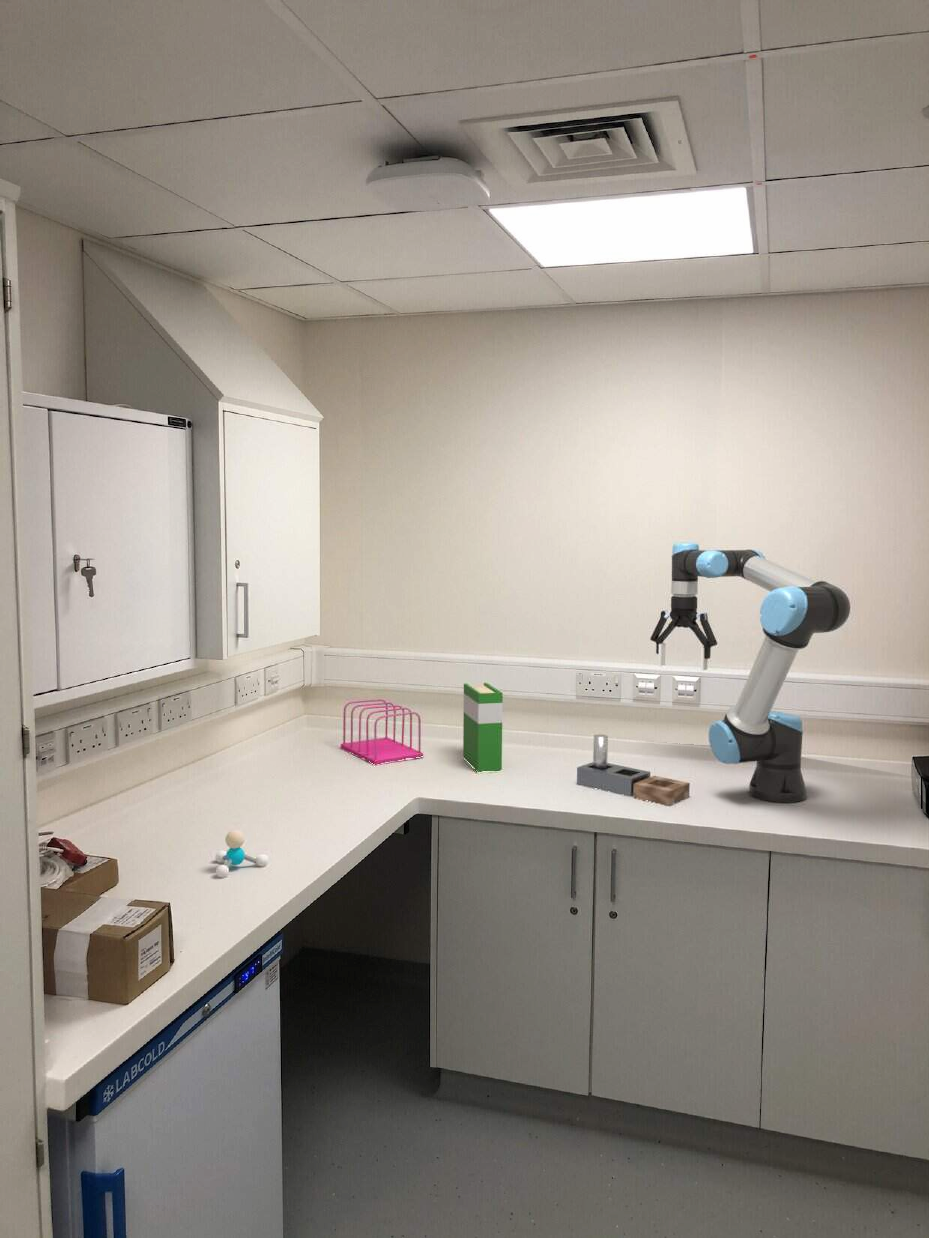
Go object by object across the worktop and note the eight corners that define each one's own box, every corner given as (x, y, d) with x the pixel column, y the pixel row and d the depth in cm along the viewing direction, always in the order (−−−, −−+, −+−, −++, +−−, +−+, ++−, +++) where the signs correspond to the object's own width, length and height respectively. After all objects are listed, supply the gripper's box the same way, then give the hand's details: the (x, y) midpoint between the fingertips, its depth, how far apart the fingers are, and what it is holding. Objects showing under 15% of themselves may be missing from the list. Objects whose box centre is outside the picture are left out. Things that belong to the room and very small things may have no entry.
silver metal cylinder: (609, 783, 280) (610, 736, 278) (601, 786, 277) (602, 738, 275) (597, 781, 282) (598, 733, 281) (590, 783, 279) (591, 736, 278)
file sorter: (387, 742, 328) (387, 696, 327) (423, 758, 307) (423, 709, 306) (340, 748, 319) (339, 701, 318) (374, 765, 298) (374, 715, 296)
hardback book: (463, 758, 307) (463, 683, 304) (485, 757, 309) (486, 682, 306) (477, 773, 290) (478, 693, 287) (501, 771, 292) (502, 692, 289)
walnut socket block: (689, 797, 267) (689, 782, 266) (668, 806, 259) (669, 791, 258) (654, 789, 274) (654, 775, 274) (633, 797, 266) (633, 783, 265)
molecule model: (231, 883, 204) (230, 843, 203) (191, 872, 210) (190, 832, 209) (270, 866, 214) (270, 827, 213) (231, 855, 220) (231, 817, 219)
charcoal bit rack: (649, 789, 274) (650, 771, 274) (631, 796, 267) (631, 779, 266) (596, 777, 286) (596, 760, 286) (576, 784, 279) (577, 767, 278)
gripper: (730, 596, 279) (727, 670, 281) (652, 592, 295) (650, 662, 297) (718, 598, 273) (716, 673, 275) (640, 594, 289) (638, 664, 291)
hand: (682, 667), depth 286 cm, fingers open, 13 cm apart
